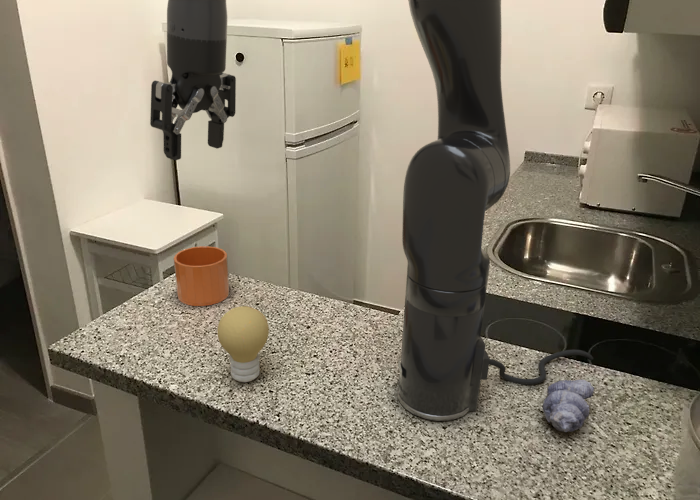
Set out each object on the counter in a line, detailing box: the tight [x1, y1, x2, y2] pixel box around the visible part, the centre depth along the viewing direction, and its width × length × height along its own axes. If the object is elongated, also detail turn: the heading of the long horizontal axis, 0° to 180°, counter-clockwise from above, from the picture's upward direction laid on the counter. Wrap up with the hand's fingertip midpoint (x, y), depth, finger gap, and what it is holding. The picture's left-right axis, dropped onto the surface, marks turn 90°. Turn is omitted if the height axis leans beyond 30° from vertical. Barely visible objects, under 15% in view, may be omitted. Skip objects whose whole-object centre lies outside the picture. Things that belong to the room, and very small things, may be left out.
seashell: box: [542, 379, 595, 433], centre depth 70 cm, size 5×5×10 cm
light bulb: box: [216, 305, 270, 383], centre depth 75 cm, size 6×6×10 cm
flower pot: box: [173, 245, 230, 307], centre depth 97 cm, size 8×8×7 cm
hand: (195, 152), depth 83 cm, fingers open, 8 cm apart
